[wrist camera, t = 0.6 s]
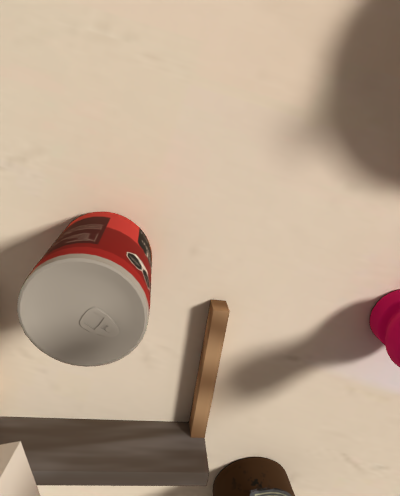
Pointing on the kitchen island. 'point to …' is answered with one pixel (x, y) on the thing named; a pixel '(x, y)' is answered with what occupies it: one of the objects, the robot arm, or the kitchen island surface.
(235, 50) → the kitchen island surface
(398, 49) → the kitchen island surface
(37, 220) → the kitchen island surface
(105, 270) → the canned food
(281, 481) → the olive oil
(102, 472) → the guide lane
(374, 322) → the pepper mill
